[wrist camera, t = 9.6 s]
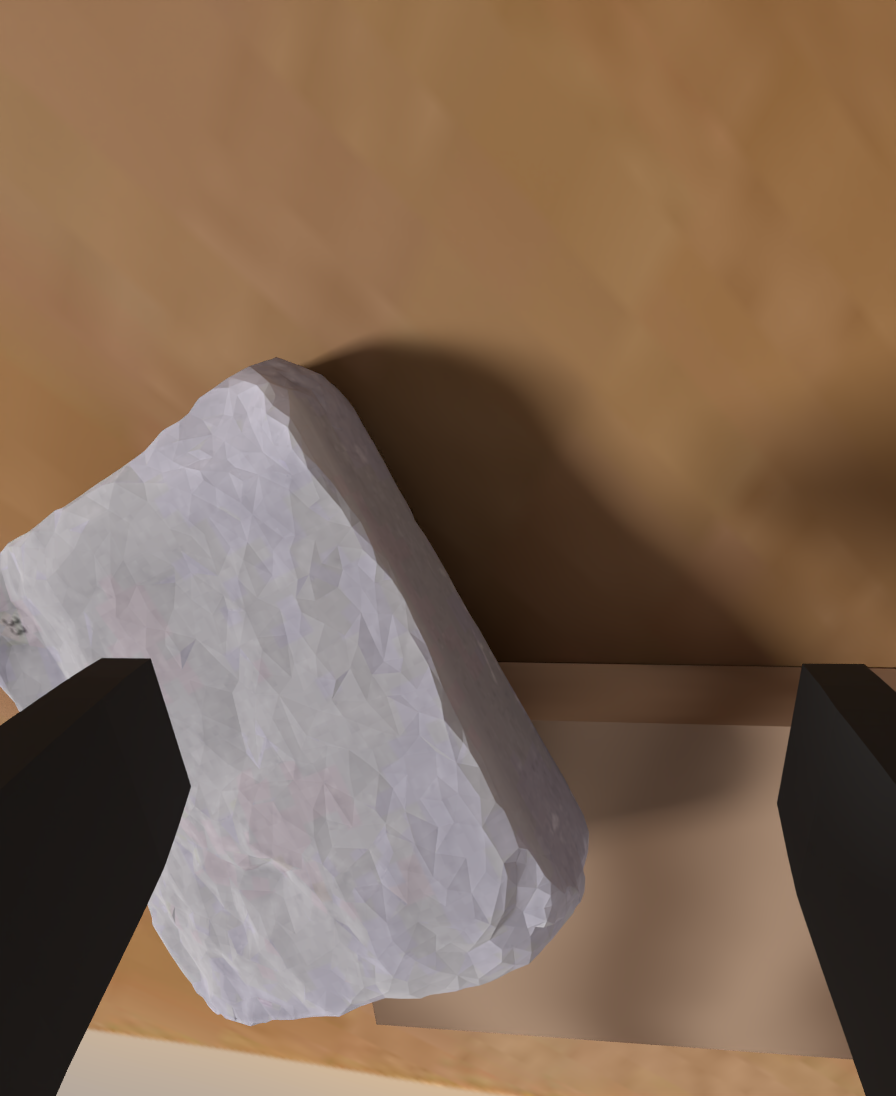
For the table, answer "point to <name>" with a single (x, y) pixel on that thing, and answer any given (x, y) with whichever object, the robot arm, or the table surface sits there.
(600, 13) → the table surface
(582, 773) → the walnut base
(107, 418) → the table surface
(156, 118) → the table surface
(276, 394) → the stone block
